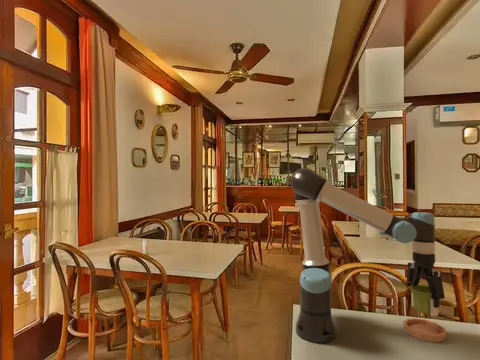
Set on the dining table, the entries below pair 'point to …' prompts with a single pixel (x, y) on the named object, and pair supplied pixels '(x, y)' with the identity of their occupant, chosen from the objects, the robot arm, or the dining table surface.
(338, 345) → the dining table surface
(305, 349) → the dining table surface
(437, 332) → the terracotta plant saucer
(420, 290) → the plant pot
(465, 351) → the dining table surface
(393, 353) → the dining table surface
